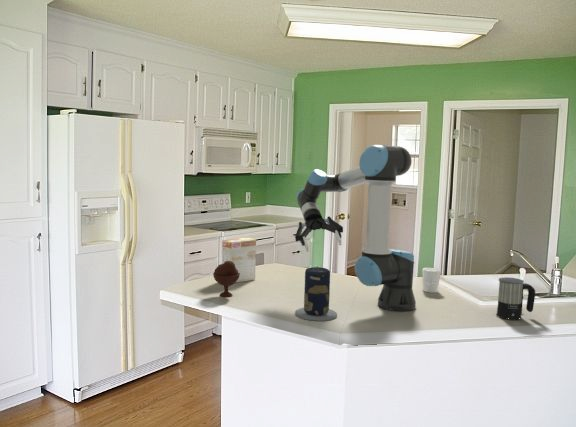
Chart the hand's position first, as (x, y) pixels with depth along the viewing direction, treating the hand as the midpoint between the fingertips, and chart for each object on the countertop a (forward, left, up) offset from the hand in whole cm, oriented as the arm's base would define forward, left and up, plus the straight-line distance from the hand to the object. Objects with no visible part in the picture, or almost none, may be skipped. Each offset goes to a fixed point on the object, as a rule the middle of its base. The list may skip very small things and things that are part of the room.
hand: (324, 246), depth 219 cm
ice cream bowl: (+37, +16, -24) cm, 47 cm away
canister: (-6, +14, -23) cm, 28 cm away
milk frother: (-64, -38, -24) cm, 78 cm away
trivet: (-6, +14, -24) cm, 28 cm away
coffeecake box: (+50, -8, -24) cm, 56 cm away
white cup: (-27, -52, -24) cm, 63 cm away
